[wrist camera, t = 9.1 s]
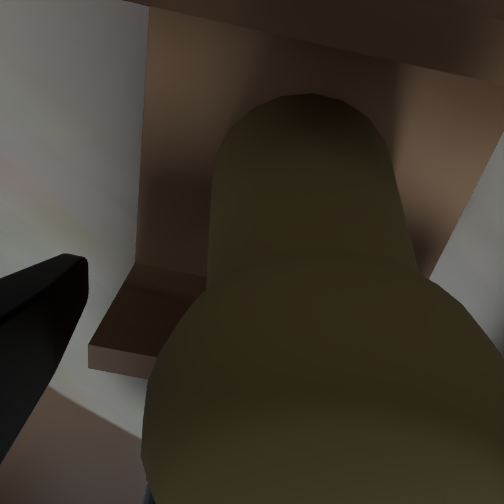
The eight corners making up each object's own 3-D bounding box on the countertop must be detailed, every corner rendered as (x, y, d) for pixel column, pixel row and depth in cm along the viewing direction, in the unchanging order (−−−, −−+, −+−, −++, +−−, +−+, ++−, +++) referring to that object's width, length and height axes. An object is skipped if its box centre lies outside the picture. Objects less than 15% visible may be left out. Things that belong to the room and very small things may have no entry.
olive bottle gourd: (211, 255, 16) (102, 631, 6) (212, 85, 13) (3, 325, 3) (372, 269, 16) (508, 677, 6) (413, 100, 12) (814, 397, 3)
